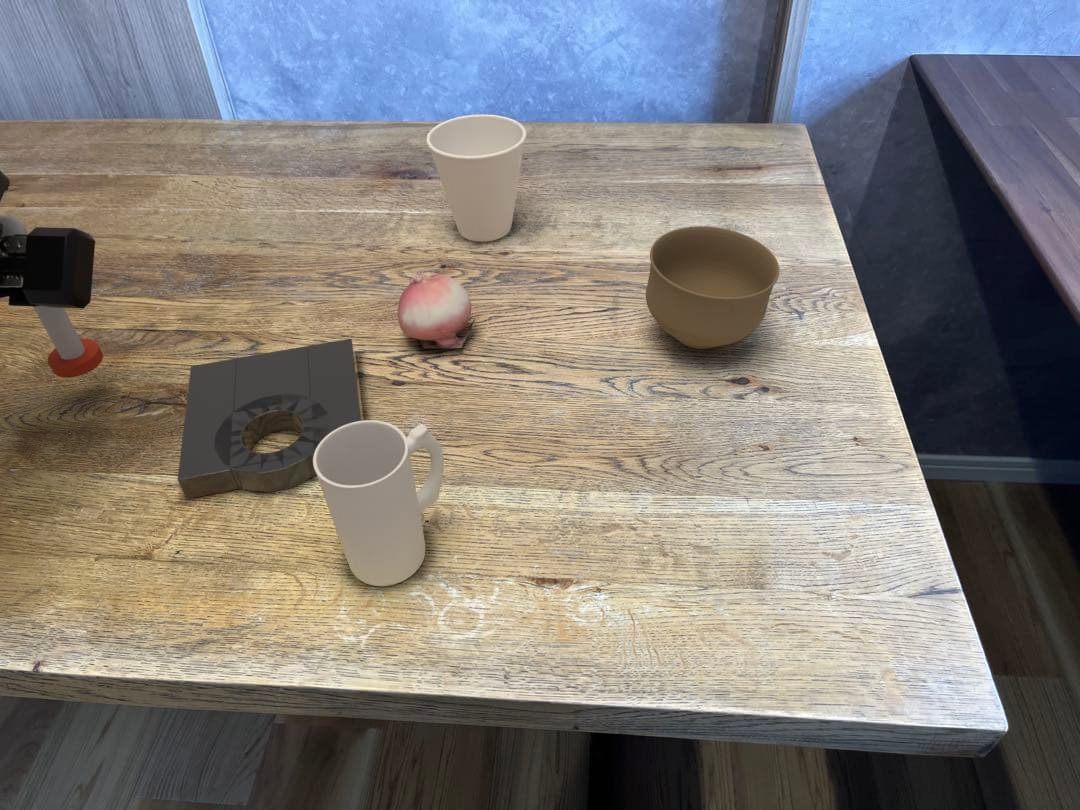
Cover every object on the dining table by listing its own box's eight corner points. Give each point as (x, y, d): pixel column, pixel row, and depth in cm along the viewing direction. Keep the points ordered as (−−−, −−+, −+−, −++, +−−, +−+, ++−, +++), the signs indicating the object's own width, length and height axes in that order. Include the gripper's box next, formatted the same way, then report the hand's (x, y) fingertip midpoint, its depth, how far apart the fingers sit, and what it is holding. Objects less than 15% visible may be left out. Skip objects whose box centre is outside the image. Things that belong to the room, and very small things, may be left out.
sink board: (185, 509, 71) (176, 489, 69) (198, 384, 83) (190, 365, 82) (370, 472, 73) (365, 453, 72) (356, 357, 86) (351, 338, 84)
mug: (376, 605, 63) (346, 503, 55) (329, 555, 67) (294, 452, 59) (476, 533, 68) (462, 429, 60) (428, 490, 72) (408, 386, 63)
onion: (457, 307, 92) (451, 251, 87) (488, 343, 87) (483, 286, 82) (391, 329, 89) (380, 274, 84) (419, 368, 84) (409, 311, 79)
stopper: (66, 384, 77) (-16, 237, 66) (44, 365, 79) (-40, 220, 69) (112, 359, 80) (39, 214, 69) (88, 342, 82) (15, 199, 71)
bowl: (763, 383, 80) (780, 299, 74) (635, 367, 83) (639, 284, 76) (767, 309, 89) (782, 228, 83) (651, 296, 92) (657, 217, 85)
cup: (535, 205, 108) (531, 114, 100) (525, 253, 99) (520, 157, 91) (447, 204, 109) (436, 113, 101) (430, 251, 101) (416, 156, 92)
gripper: (27, 136, 59) (152, 201, 74) (-205, 133, 61) (-37, 196, 76) (15, 289, 58) (142, 322, 74) (-219, 281, 60) (-47, 315, 76)
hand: (49, 285), depth 75 cm, fingers closed on stopper, 2 cm apart
